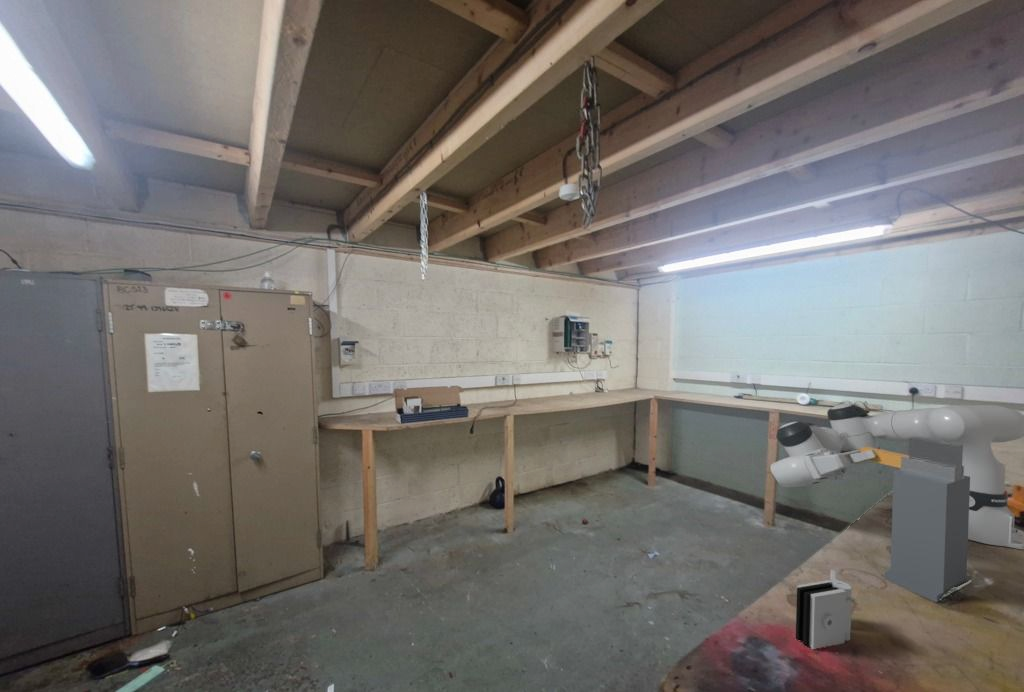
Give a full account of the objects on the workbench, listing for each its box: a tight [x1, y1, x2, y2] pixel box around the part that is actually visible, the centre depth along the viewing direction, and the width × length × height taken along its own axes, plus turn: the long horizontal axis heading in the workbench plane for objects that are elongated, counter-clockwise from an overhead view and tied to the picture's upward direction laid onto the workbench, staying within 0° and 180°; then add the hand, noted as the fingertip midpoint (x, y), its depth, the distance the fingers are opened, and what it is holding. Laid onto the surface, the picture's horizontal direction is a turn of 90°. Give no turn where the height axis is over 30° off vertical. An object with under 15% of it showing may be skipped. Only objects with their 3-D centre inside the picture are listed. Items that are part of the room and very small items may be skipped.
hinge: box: [795, 569, 852, 650], centre depth 74 cm, size 14×5×10 cm, turn 116°
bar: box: [861, 437, 963, 481], centre depth 95 cm, size 3×18×8 cm, turn 23°
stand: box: [883, 457, 973, 603], centre depth 91 cm, size 18×9×29 cm, turn 114°
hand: (879, 452), depth 100 cm, fingers closed on bar, 3 cm apart
